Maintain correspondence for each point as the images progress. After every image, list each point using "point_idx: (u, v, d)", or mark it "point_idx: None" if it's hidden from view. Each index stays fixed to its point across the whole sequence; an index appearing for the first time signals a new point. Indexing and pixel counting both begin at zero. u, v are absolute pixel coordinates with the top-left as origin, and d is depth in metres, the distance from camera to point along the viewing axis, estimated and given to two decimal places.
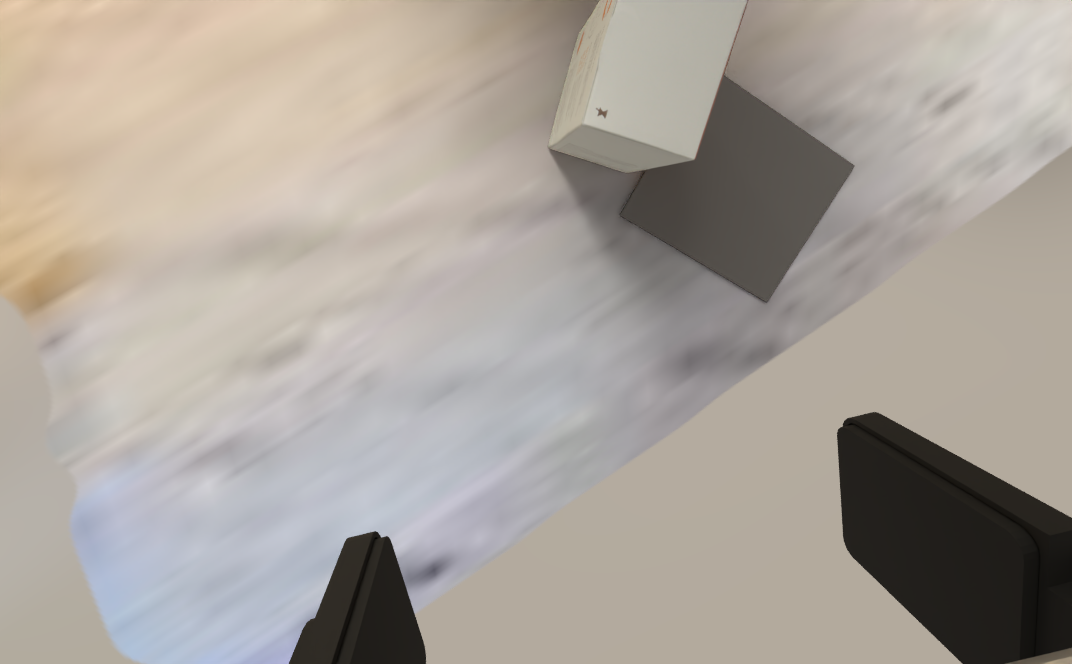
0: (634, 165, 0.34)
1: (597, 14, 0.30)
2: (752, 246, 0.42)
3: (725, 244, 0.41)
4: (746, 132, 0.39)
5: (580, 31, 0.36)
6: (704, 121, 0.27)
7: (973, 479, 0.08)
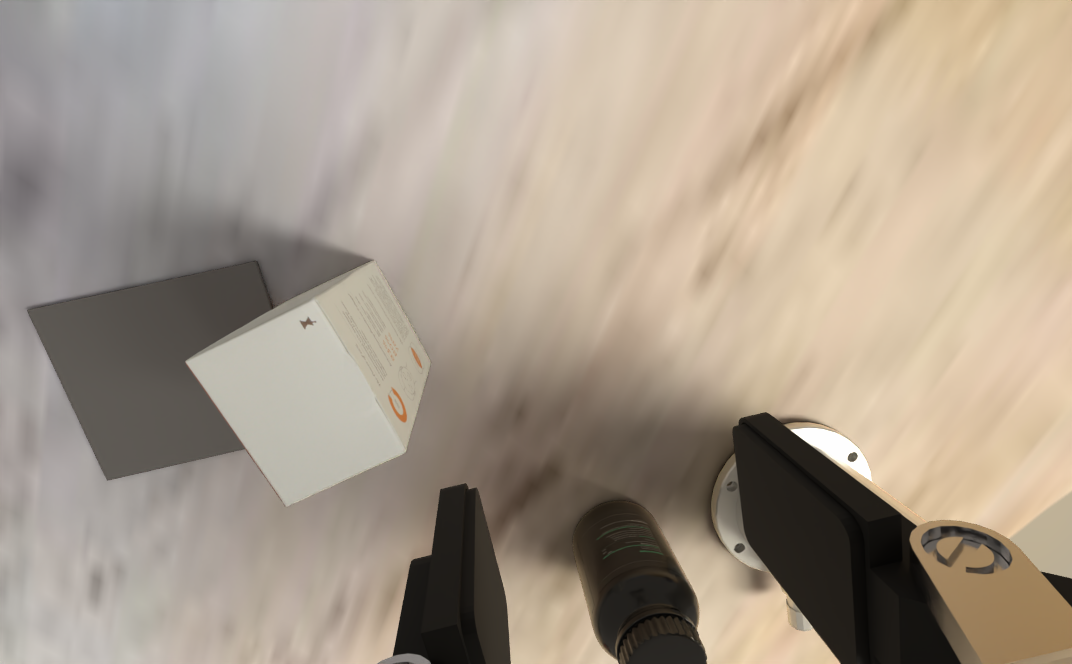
0: (270, 310, 0.29)
1: (409, 387, 0.29)
2: (107, 343, 0.34)
3: (133, 323, 0.34)
4: None
5: (429, 365, 0.36)
6: (213, 397, 0.23)
7: (824, 472, 0.09)
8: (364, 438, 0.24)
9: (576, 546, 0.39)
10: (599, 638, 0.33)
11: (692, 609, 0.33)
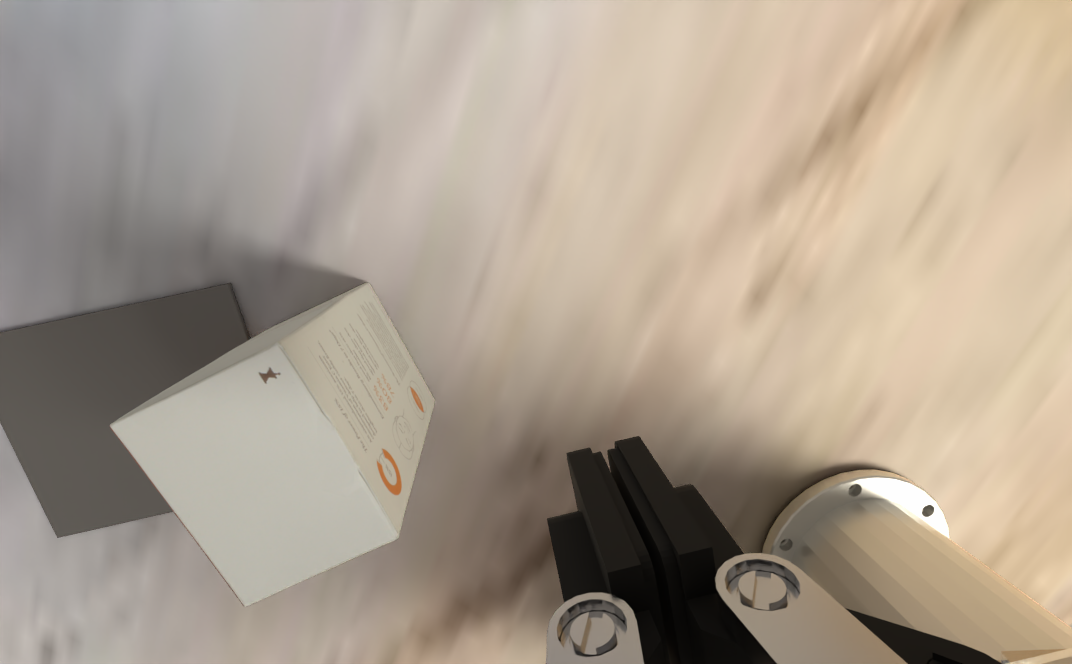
0: (239, 346, 0.24)
1: (406, 442, 0.23)
2: (55, 380, 0.29)
3: (85, 356, 0.29)
4: None
5: (433, 405, 0.30)
6: (147, 471, 0.17)
7: (662, 502, 0.09)
8: (345, 521, 0.18)
9: None
10: None
11: None
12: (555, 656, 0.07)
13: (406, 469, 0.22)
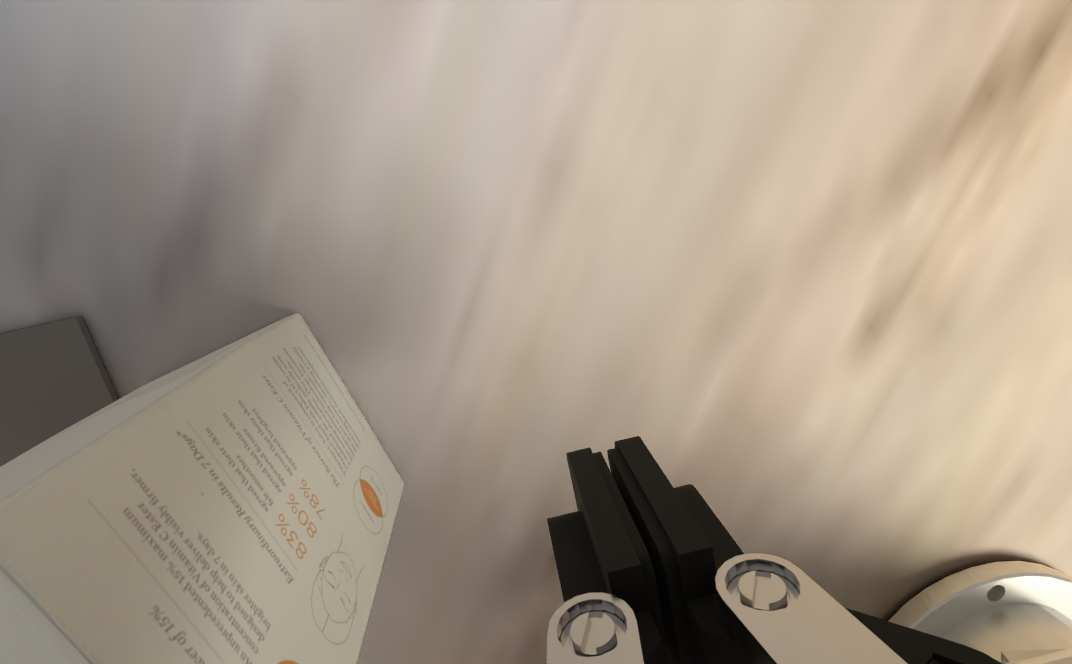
0: (52, 438, 0.14)
1: (341, 607, 0.13)
2: None
3: None
4: None
5: (400, 494, 0.20)
6: None
7: (662, 502, 0.09)
8: None
9: None
10: None
11: None
12: (555, 656, 0.07)
13: None
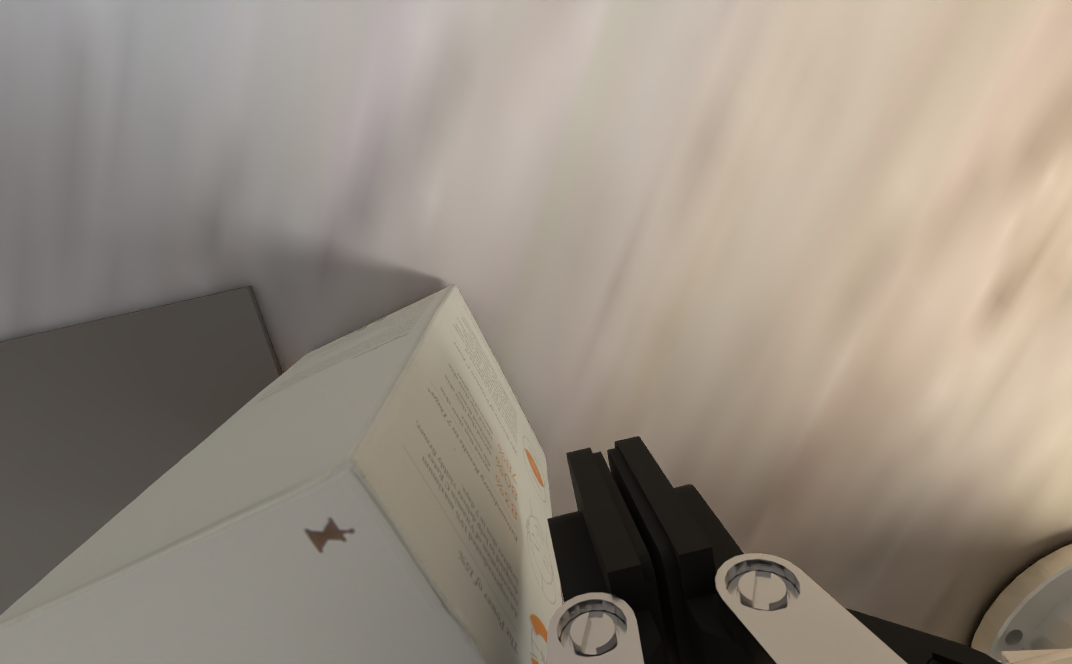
0: (263, 398, 0.14)
1: (545, 568, 0.14)
2: None
3: (34, 397, 0.19)
4: None
5: (546, 466, 0.20)
6: None
7: (662, 502, 0.09)
8: None
9: None
10: None
11: None
12: (555, 656, 0.07)
13: None
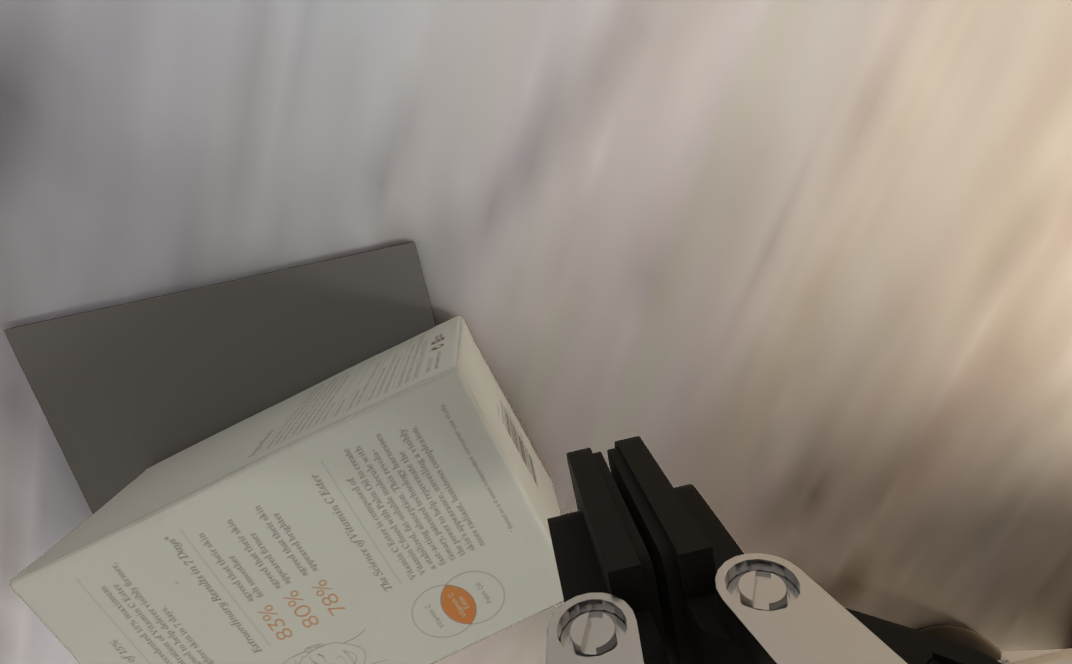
0: (318, 387, 0.18)
1: None
2: (147, 389, 0.19)
3: (194, 352, 0.19)
4: None
5: (548, 604, 0.16)
6: None
7: (663, 502, 0.09)
8: None
9: None
10: None
11: None
12: (555, 656, 0.07)
13: None
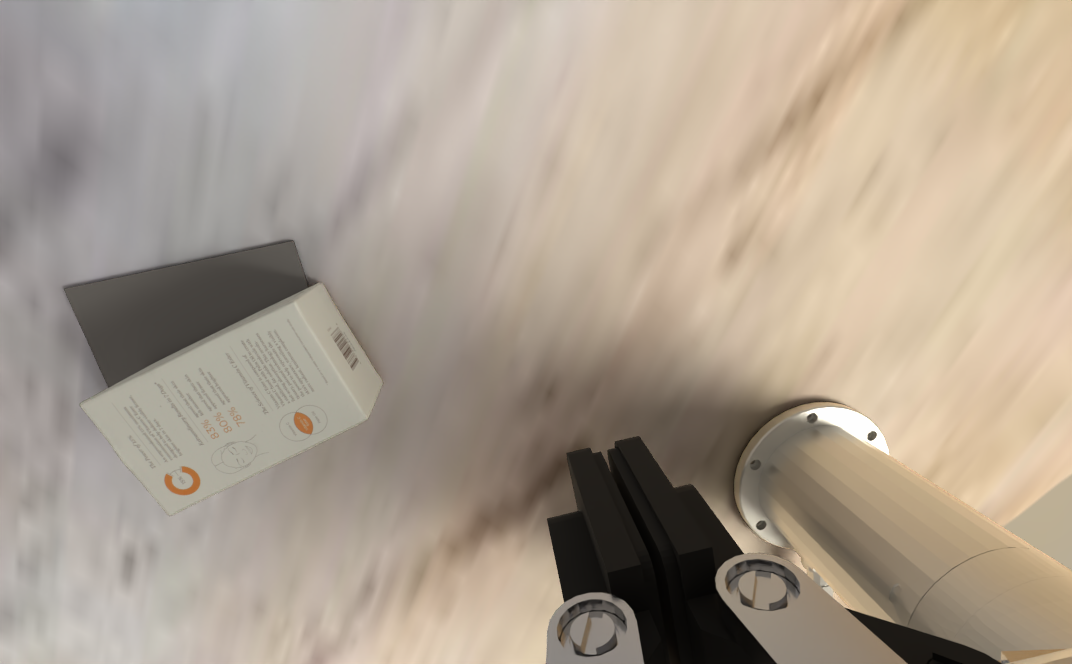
0: None
1: (234, 462, 0.30)
2: (143, 323, 0.34)
3: (170, 302, 0.34)
4: None
5: (350, 425, 0.31)
6: None
7: (663, 502, 0.09)
8: None
9: None
10: None
11: None
12: (555, 656, 0.07)
13: (216, 480, 0.31)
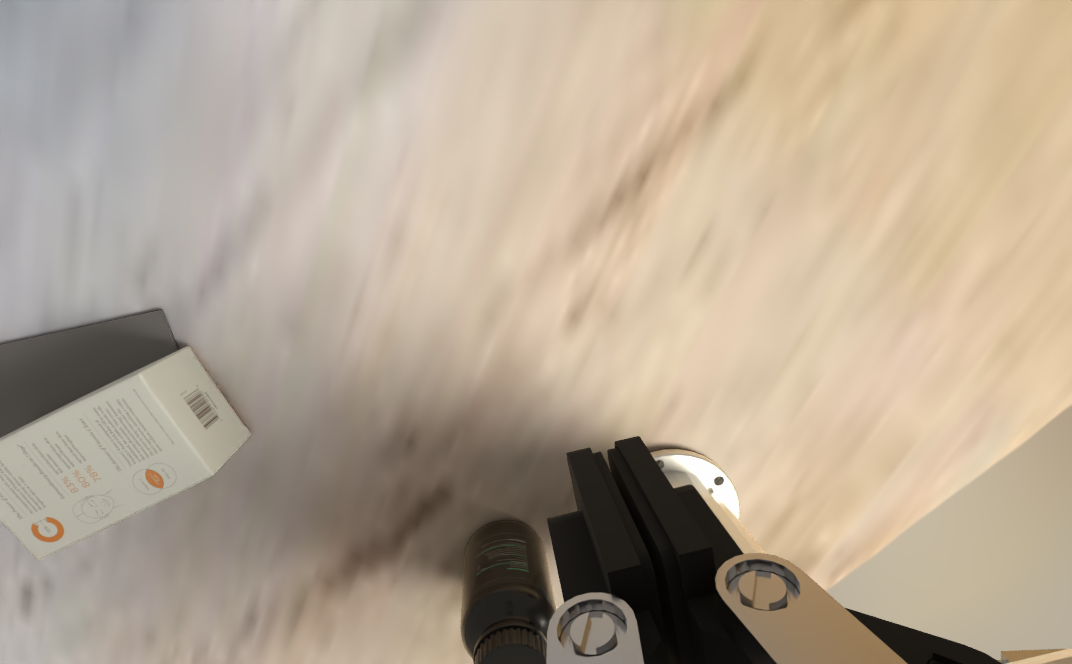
0: None
1: (94, 513, 0.34)
2: (28, 383, 0.38)
3: (51, 365, 0.38)
4: None
5: (198, 480, 0.34)
6: None
7: (663, 502, 0.09)
8: None
9: (464, 562, 0.43)
10: (465, 647, 0.37)
11: (547, 621, 0.37)
12: (555, 656, 0.07)
13: (79, 529, 0.34)
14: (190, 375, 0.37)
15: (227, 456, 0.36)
